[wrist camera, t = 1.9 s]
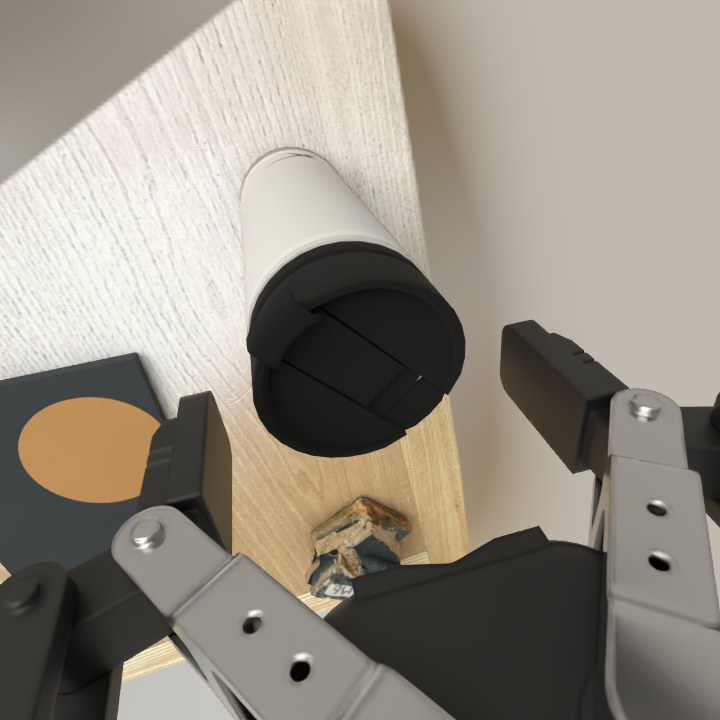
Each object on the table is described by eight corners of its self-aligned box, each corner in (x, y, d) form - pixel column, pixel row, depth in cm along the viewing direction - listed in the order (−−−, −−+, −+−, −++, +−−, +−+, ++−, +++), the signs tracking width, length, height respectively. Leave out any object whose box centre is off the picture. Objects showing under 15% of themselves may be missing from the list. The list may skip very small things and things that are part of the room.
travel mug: (278, 116, 27) (352, 219, 10) (363, 194, 30) (522, 366, 14) (213, 205, 28) (187, 415, 12) (300, 270, 32) (374, 504, 15)
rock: (411, 508, 47) (431, 558, 42) (360, 568, 50) (374, 620, 46) (336, 486, 43) (349, 539, 39) (287, 553, 47) (293, 609, 42)
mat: (-125, 406, 30) (-134, 415, 30) (136, 352, 32) (134, 359, 32) (31, 586, 41) (27, 595, 41) (218, 537, 43) (218, 545, 43)
